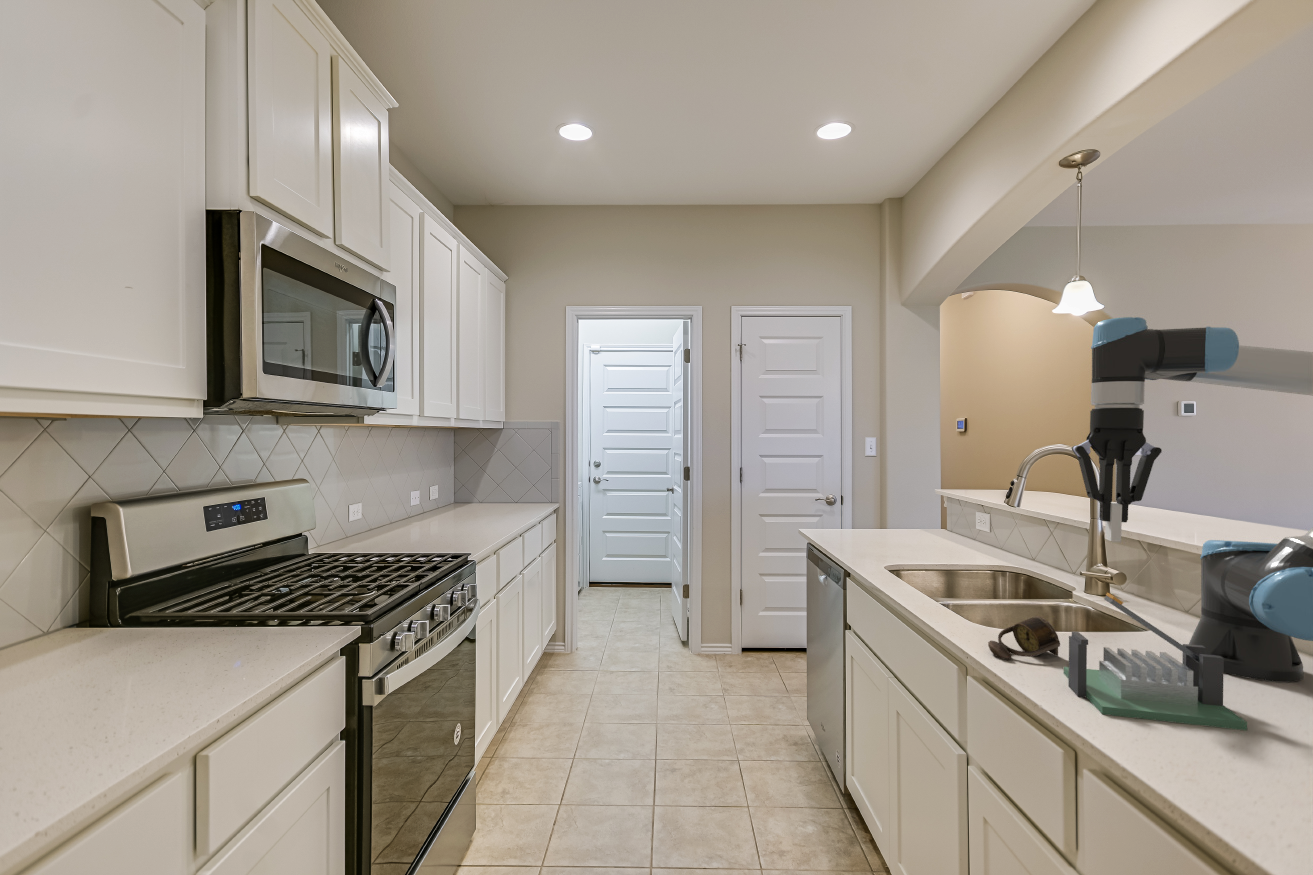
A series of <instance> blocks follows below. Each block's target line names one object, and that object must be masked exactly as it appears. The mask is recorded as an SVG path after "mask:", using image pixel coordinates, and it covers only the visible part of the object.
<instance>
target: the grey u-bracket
mask: <svg viewBox="0 0 1313 875" xmlns="http://www.w3.org/2000/svg"><path fill="white" fill-rule="evenodd" d="M1182 645H1183V646H1184V647H1186V648H1187V649H1189V650H1190V651H1192V652H1193V653H1195V654H1197V655H1199V663H1198V662H1196V661H1195V660H1193V659H1192V658H1191V657H1190V656H1188V655H1187V654H1185V653H1184V652H1182V662H1181V663H1182V664H1184V665H1185V666H1187V667H1188V668H1190V669H1191V670H1193V684H1194V685H1196V686H1197V687H1198V701H1199V702H1200V703H1202V704H1207V705H1217V706H1223V705H1224V674H1225V672H1224V658H1223V657H1221V656H1216V655H1206V648H1205V647H1204V646H1202V645H1190V644H1189V643H1187V644H1186V643H1182Z"/></svg>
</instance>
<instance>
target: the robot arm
mask: <svg viewBox="0 0 1313 875" xmlns="http://www.w3.org/2000/svg"><path fill="white" fill-rule="evenodd" d="M1090 349H1091V385H1090V389H1091V391H1090V405H1092V406H1094V408H1091V410H1090V411H1089V412H1090V413H1089V434H1087V436H1086V440H1085V441H1083V442H1081V443H1080V444H1078V445H1072V447H1071V450H1072V452H1073V454H1074V455H1075V456H1076V458H1077V461H1078V465H1079V467H1080V468H1079V469H1080V471H1081V476H1082V480H1083V483H1084V487H1085V488H1084V489H1085V492H1086V495H1087V497H1088V498H1089V499H1093V500H1095V501H1097V502H1098V503H1099V517H1098V518H1099V520H1100V521H1102V522H1104V524H1105V525H1104V539H1105V540H1106V541H1109V542H1117V543H1121V542H1122V525H1123V523H1127V522H1128V520H1129V505H1131V504H1132V503H1135V502H1140V501H1142V499H1143V496H1144V493H1145V491H1146V487H1147V484H1148V481H1149V479H1150V476H1151V472H1152V470H1153V466H1154V463H1155V461H1156V459H1157V458H1158V457H1159V456H1160V454H1161V453H1162V448H1160V447H1156V446H1154V445H1152V444H1150V443H1148V442H1147V438H1146V437H1145V435H1144V421H1145V420H1144V419H1145V417H1144V416H1145V410H1144V409H1143V408H1140V406H1143V405H1144V404H1145V382H1146V380H1148V381H1158V380H1168V381H1177V382H1188V383H1197V384H1206V385H1215V386H1225V387H1232V388H1233V387H1234V388H1241V389H1251V390H1258V391H1259V390H1261V391H1266V392H1267V391H1269V392H1277V393H1287V394H1296V395H1304V396H1313V351H1304V350H1295V349H1284V348H1274V347H1273V348H1272V347H1260V346H1259V347H1258V346H1251V345H1240V340H1239V337H1238V334H1237V333H1236V331H1235V330H1234V329H1232V328H1230V327H1225V326H1223V327H1222V326H1221V327H1217V326H1216V327H1212V326H1205V327H1187V328H1186V327H1185V328H1167V329H1165V328H1164V329H1154V328H1148V325H1147V320H1146V319H1145V318H1143V317H1140V316H1139V317H1138V316H1137V317H1135V316H1134V317H1132V316H1128V317H1125V316H1124V317H1117V318H1116V317H1115V318H1109V319H1104V320H1101V321H1099V322H1097V323H1096V324H1095V326H1094V327H1093V334H1092V343H1091V346H1090ZM1091 449H1092V451H1093V452H1094V454H1096V455H1097V456H1098V464H1099V479H1098V481H1099V482H1097V478H1096V477H1097V476H1096V475H1095V474H1096V473H1095V470H1094V467H1093V462H1092V458H1091V456H1090V454H1091ZM1140 450H1141V451H1140ZM1139 451H1140V455H1141V456H1140V458H1139V460H1138V462H1137V467H1136V470H1135V472H1134V476H1133V478H1132V481H1131V472H1132V471H1131V470H1132V469H1131V468H1132V464H1133V458H1134V457H1135V456H1136V454H1137V453H1138V452H1139ZM1114 465H1116V473H1115V476H1116V477H1115V478H1116V479H1115V501H1116V502H1113V485H1114V484H1113V483H1114V481H1113V480H1114ZM1199 558H1200V561H1201V564H1200V565H1201V571H1200V573H1201V575H1200V577H1201V580H1200V582H1201V583H1200V584H1201V585H1200V586H1201V588H1200V589H1201V590H1200V592H1201V593H1200V594H1201V595H1200V602H1201V603H1200V605H1201V606H1200V607H1201V608H1200V609H1201V610H1200V619H1199V621H1198V623H1197V625H1196V628H1195V630H1194V632H1193V634H1192V635H1191V637H1190V640H1189V642H1188V644H1190V645H1202V646H1204V647H1205V648H1206V655H1216V656H1221V657H1223V658H1224V674H1229V675H1233V676H1237V677H1241V678H1245V679H1246V678H1247V679H1253V680H1259V681H1266V682H1267V681H1268V682H1276V683H1292V682H1293V683H1294V682H1300V681H1301V680H1303V679H1304V664H1303V662H1302V659H1301V656H1300V654H1299V652H1298V650H1297V647H1296V644H1295V642H1294V639H1299V640H1302V641H1308V642H1309V641H1311V642H1313V527H1311V528H1310V529H1309V530H1308V532H1306V533H1305V534H1303V535H1295V536H1285V537H1284V538H1283V539H1281V540H1280V541H1279V542H1278V543H1275V542H1273V543H1272V542H1260V541H1259V542H1255V541H1243V540H1242V541H1241V540H1240V541H1239V540H1224V539H1223V540H1220V539H1219V540H1218V539H1210V540H1207V541H1205V542H1204V543H1203V545H1202V549H1201V555H1200V557H1199ZM1293 638H1294V639H1293Z"/></svg>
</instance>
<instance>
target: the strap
mask: <svg viewBox="0 0 1313 875" xmlns="http://www.w3.org/2000/svg"><path fill="white" fill-rule="evenodd" d="M1103 600H1104V601H1106V602H1108V604H1110V605H1112V606H1113V607H1115V608H1116V609H1118V610H1120V611H1121V612H1122V613H1124V614H1125V615H1127V616H1129V617H1130V618H1131V619H1132V620H1134V621H1136V622H1138V623H1139V624H1140V625H1141V626H1144V628H1147V630H1149V631H1151V632H1152V633H1154V634H1155V635H1157V636H1158V637H1159V638H1161V639H1163V640H1164V641H1166V642H1168V643H1169V644H1171V645H1172V646H1173V647H1175V648H1176V649H1177V650H1179V651H1181V653H1183V652H1184V653H1185V654H1187V655H1188V656H1190V657H1191V658H1192V659H1193V660H1195V661H1196V662H1198V663H1199V655H1197V654H1195V653H1193V652H1192V651H1190V650H1189V649H1187V648H1186V647H1184V646H1183V644H1181V643H1180V642H1178V641H1177V640H1176V639H1174V638H1172V637H1171V636H1169V635H1168V634H1167V633H1165V632H1164V631H1162V630H1160V629H1159V628H1158V627H1157V626H1155V625H1153V624H1151V623H1150V622H1148V621H1146V620H1145V619H1144V618H1143V617H1141V616H1139V615H1138V614H1136V613H1135V612H1133V611H1131V609H1129V608H1127V607H1126V606H1124V605H1123V604H1124V601H1121V599H1118V598H1117V597H1116V596H1114V595H1113V594H1111V593H1109V592H1106V594H1105V597H1104V598H1103Z"/></svg>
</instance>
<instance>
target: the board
mask: <svg viewBox="0 0 1313 875" xmlns="http://www.w3.org/2000/svg"><path fill="white" fill-rule="evenodd" d="M1063 675H1064V676H1066V678H1067V679H1068V680H1069V666H1063ZM1085 698H1086V699H1087V700H1088V701H1089V702H1090V703H1091V704H1092V705H1093V707H1094V708H1096V710H1098V711H1099V713H1100V714H1102V715H1105V716H1106V715H1107V716H1115V717H1124V718H1134V719H1140V720H1141V719H1143V720H1149V721H1150V720H1151V721H1161V722H1169V723H1175V724H1176V723H1178V724H1179V723H1180V724H1187V725H1188V724H1189V725H1196V726H1203V727H1205V726H1206V727H1214V728H1221V729H1222V728H1223V729H1231V730H1240V731H1248V721H1246V720H1245V719H1243V718H1242V717H1240V716H1239V715H1238V714H1236V713H1235V712H1234V711H1232V710H1230V709H1229V708H1228V707H1226V706H1225V705H1224V704H1223V706H1217V705H1207V704H1202V703H1200V702H1199V701H1198V706H1189V705H1179V704H1170V703H1160V702H1151V701H1141V700H1132V699H1122V698H1120V697H1119V696H1118V695H1117V694H1116V693H1115V692H1114V691H1112V690H1111V689H1110V688H1109V687H1108V686H1107V685H1106V684H1105V683H1104V682H1103V681H1102V680H1101V679H1100V678H1099V669H1091V668H1087V676H1086V697H1085Z"/></svg>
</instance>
